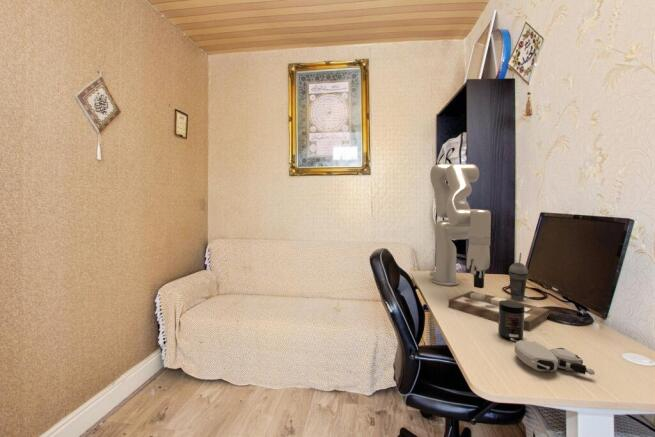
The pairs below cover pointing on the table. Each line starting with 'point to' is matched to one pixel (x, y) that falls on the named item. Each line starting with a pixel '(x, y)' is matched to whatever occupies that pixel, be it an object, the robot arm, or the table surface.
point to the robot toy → (549, 358)
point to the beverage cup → (518, 280)
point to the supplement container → (511, 320)
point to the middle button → (496, 300)
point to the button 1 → (477, 296)
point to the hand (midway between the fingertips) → (478, 287)
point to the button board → (496, 309)
